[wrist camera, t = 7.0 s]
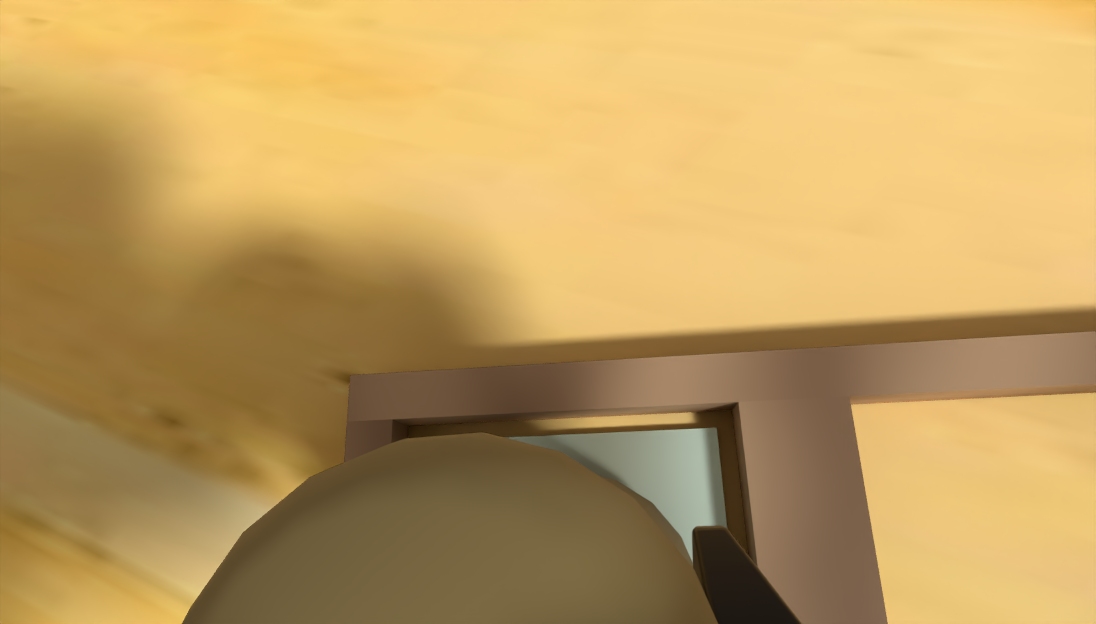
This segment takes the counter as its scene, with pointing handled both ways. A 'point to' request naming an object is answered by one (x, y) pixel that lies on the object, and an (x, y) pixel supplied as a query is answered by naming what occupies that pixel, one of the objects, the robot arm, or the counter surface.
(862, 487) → the brown wooden frame
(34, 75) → the counter surface
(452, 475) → the cork
